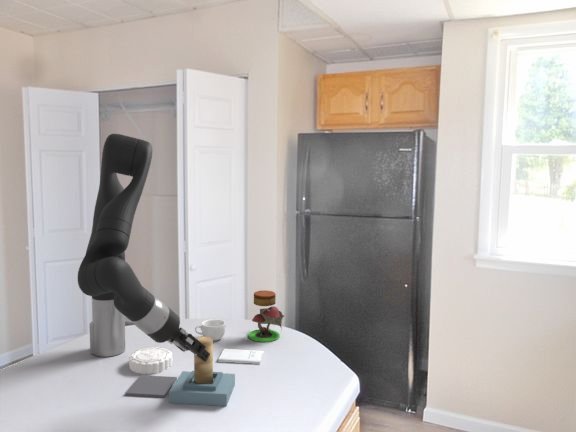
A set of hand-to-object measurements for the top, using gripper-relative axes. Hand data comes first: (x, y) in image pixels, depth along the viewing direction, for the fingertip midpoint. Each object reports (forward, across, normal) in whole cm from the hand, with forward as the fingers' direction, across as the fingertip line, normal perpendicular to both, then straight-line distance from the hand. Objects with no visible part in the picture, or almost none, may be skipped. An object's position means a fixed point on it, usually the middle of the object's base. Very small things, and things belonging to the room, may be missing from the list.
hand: (196, 352), depth 115 cm
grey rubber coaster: (+4, +12, +12) cm, 17 cm away
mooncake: (+10, +24, +7) cm, 27 cm away
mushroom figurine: (+37, +17, -21) cm, 46 cm away
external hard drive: (+26, +10, -8) cm, 29 cm away
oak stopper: (+8, 0, +4) cm, 9 cm away
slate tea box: (+10, 0, +6) cm, 12 cm away
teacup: (+27, +28, -11) cm, 41 cm away
